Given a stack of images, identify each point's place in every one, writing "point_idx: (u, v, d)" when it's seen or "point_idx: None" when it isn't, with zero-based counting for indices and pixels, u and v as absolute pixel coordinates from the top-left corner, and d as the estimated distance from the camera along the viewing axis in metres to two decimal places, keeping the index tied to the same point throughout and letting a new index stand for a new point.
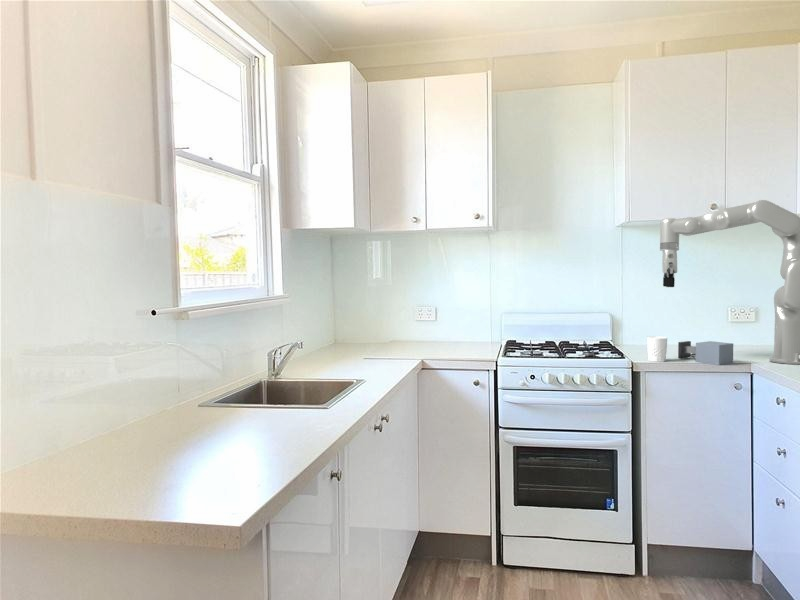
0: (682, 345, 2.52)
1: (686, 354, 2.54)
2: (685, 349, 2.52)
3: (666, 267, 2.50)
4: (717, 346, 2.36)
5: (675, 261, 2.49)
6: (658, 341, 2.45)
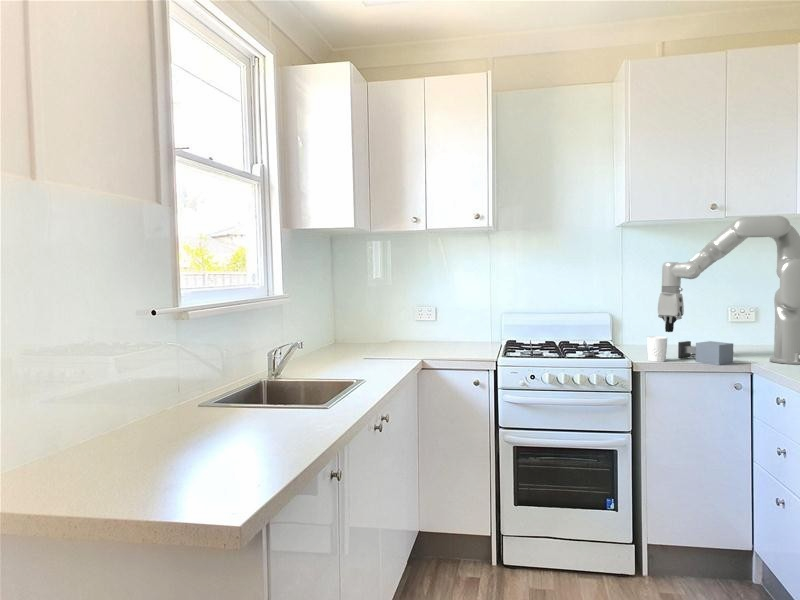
0: (682, 345, 2.52)
1: (686, 354, 2.54)
2: (685, 349, 2.52)
3: None
4: (717, 346, 2.36)
5: (683, 305, 2.56)
6: (658, 341, 2.45)
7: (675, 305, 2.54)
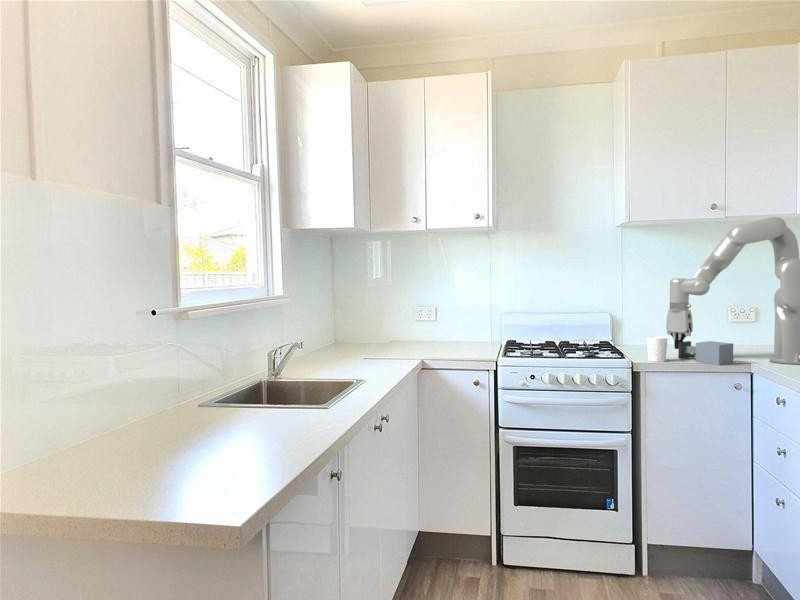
0: (682, 345, 2.52)
1: (686, 354, 2.54)
2: (685, 349, 2.52)
3: (684, 332, 2.52)
4: (717, 346, 2.36)
5: None
6: (658, 341, 2.45)
7: (684, 322, 2.51)
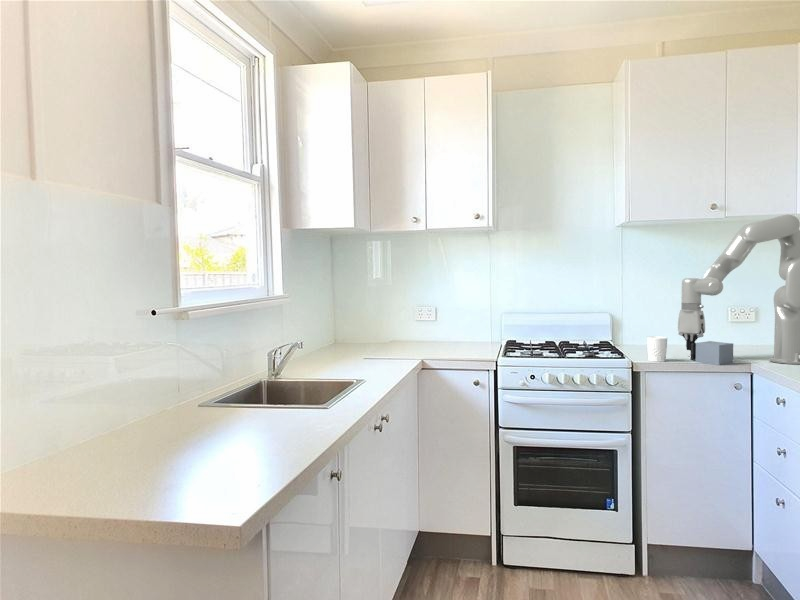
0: (694, 346, 2.47)
1: None
2: None
3: (696, 333, 2.47)
4: (717, 346, 2.36)
5: (704, 322, 2.48)
6: (658, 341, 2.45)
7: (696, 323, 2.46)
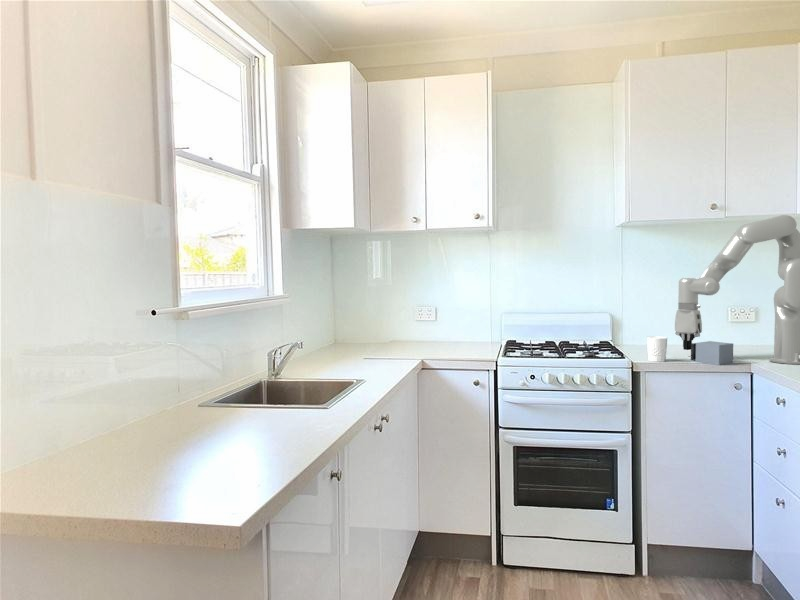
0: (695, 346, 2.47)
1: None
2: None
3: (693, 332, 2.49)
4: (717, 346, 2.36)
5: (701, 321, 2.49)
6: (658, 341, 2.45)
7: (693, 322, 2.48)
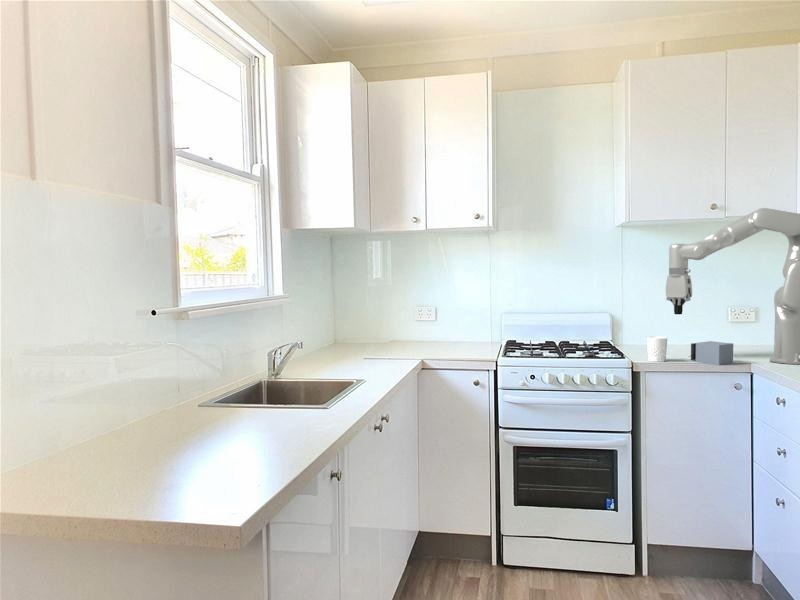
0: (695, 346, 2.47)
1: None
2: None
3: (683, 297, 2.52)
4: (717, 346, 2.36)
5: (691, 286, 2.53)
6: (658, 341, 2.45)
7: (683, 287, 2.51)
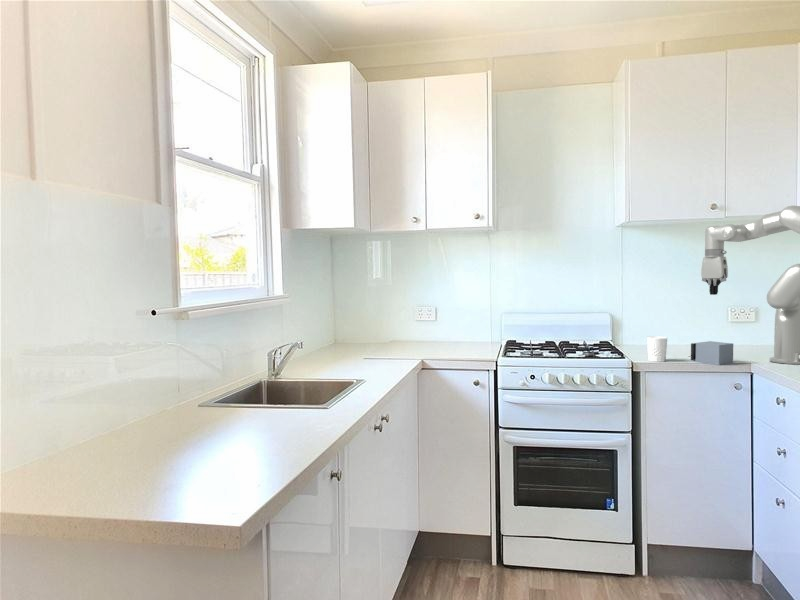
0: (695, 346, 2.47)
1: None
2: None
3: (719, 277, 2.60)
4: (717, 346, 2.36)
5: (727, 267, 2.61)
6: (658, 341, 2.45)
7: (719, 267, 2.60)
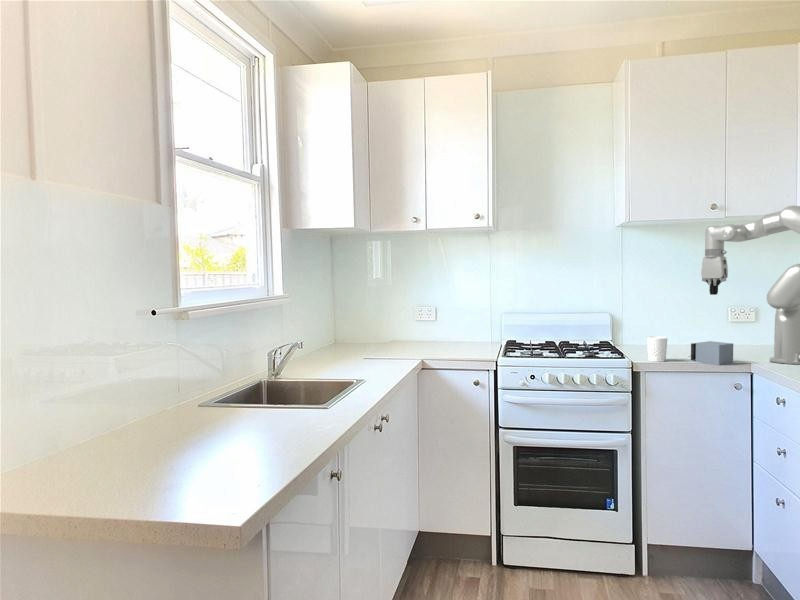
0: (695, 346, 2.47)
1: None
2: None
3: (719, 277, 2.60)
4: (717, 346, 2.36)
5: (727, 267, 2.61)
6: (658, 341, 2.45)
7: (719, 267, 2.60)
